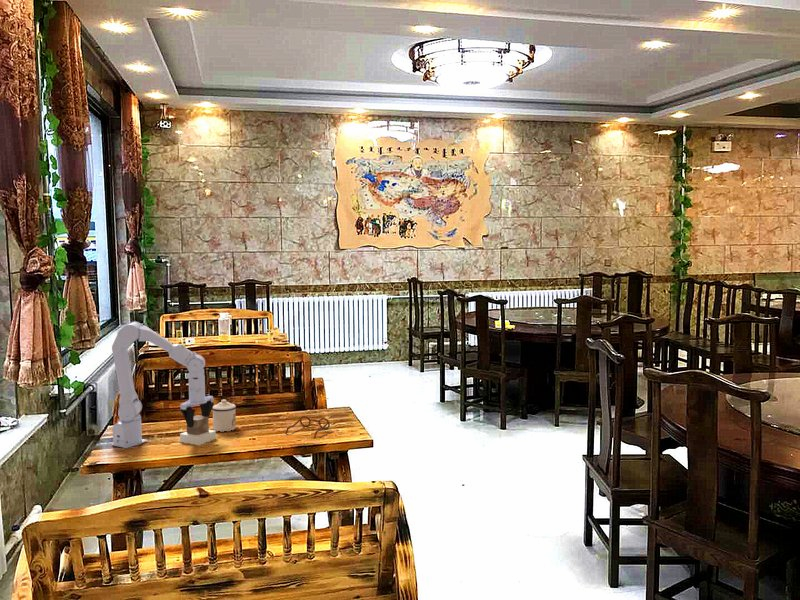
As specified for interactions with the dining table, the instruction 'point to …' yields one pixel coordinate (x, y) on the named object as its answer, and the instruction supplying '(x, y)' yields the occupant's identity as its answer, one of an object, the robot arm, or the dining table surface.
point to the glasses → (310, 423)
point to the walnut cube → (199, 425)
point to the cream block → (197, 437)
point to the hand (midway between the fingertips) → (197, 424)
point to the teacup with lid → (224, 416)
